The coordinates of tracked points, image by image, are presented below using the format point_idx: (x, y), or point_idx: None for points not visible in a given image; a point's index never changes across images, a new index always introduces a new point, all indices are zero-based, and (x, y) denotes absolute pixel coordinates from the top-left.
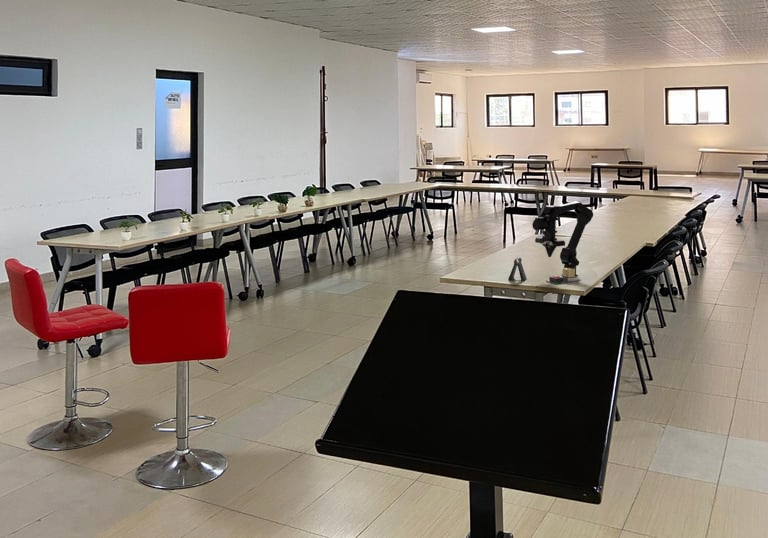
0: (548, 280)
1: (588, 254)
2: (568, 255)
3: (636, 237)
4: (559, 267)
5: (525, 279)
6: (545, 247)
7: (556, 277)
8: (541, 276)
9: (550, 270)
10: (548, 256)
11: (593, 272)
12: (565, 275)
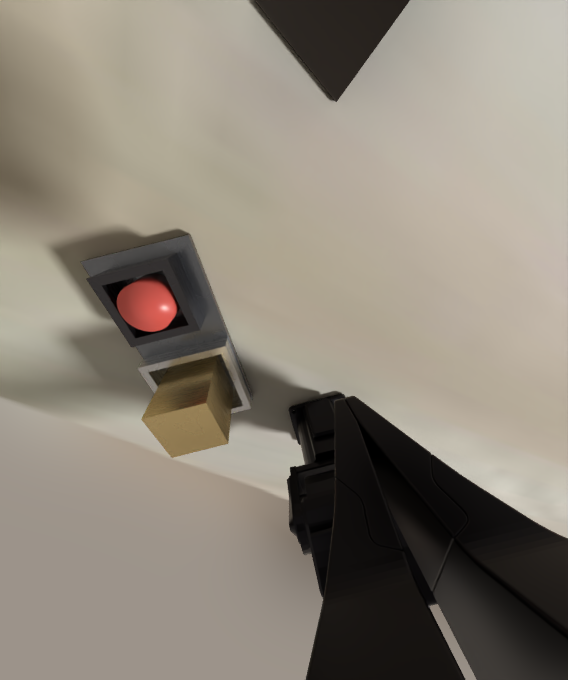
0: (191, 252)
1: None
2: (311, 536)
3: None
4: (477, 433)
5: (297, 50)
6: (529, 530)
7: (118, 297)
8: (368, 284)
9: (460, 387)
10: (351, 399)
11: None
12: (185, 378)
